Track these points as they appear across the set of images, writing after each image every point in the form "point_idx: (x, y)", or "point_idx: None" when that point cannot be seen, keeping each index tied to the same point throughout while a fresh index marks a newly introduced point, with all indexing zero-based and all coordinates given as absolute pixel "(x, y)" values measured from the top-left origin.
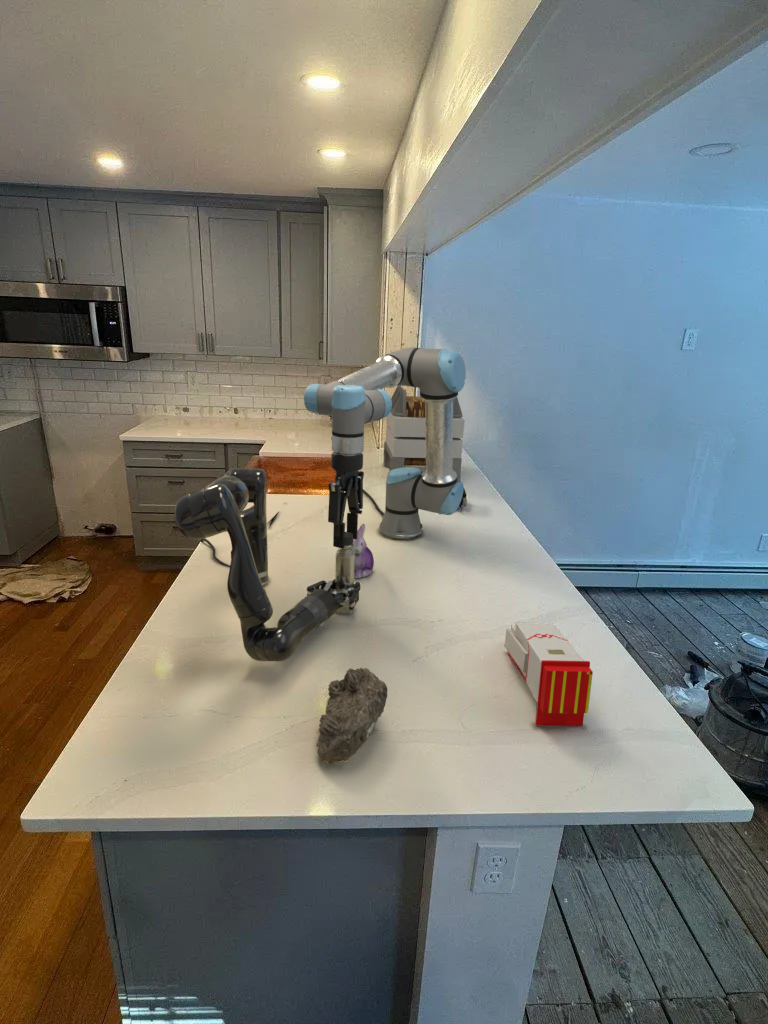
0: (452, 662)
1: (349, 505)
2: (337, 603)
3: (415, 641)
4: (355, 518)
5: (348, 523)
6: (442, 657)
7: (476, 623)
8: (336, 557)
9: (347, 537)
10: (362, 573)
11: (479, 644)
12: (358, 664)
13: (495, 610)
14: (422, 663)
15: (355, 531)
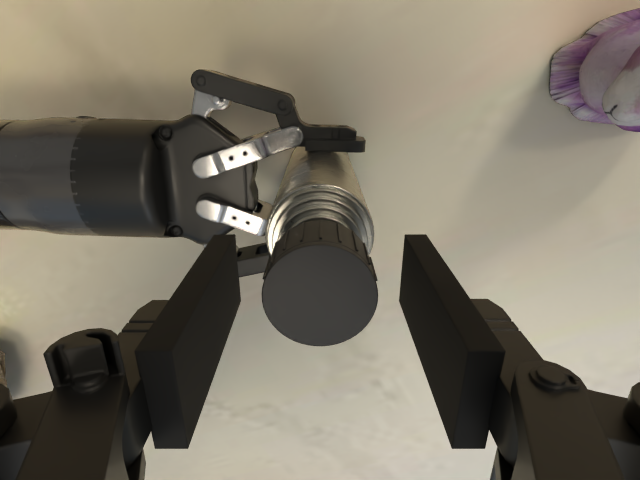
0: (243, 456)
1: (523, 468)
2: (177, 236)
3: (273, 380)
4: (444, 409)
5: (432, 304)
6: (248, 438)
7: (414, 455)
8: (276, 202)
9: (279, 330)
10: (578, 107)
11: (333, 477)
12: (114, 317)
13: (491, 472)
14: (205, 416)
15: (411, 330)
